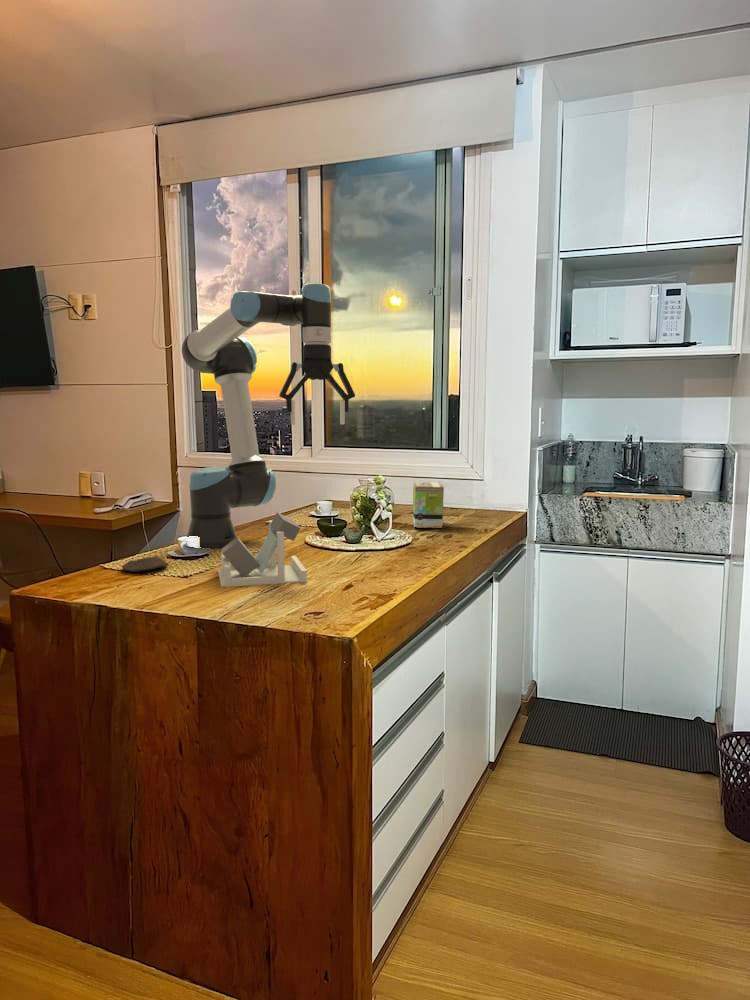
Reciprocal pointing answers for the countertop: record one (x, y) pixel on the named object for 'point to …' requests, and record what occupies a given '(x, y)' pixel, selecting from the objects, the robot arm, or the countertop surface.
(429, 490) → the tea box
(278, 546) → the frame
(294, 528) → the trapdoor
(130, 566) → the rock
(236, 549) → the gray rectangular block
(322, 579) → the countertop surface
